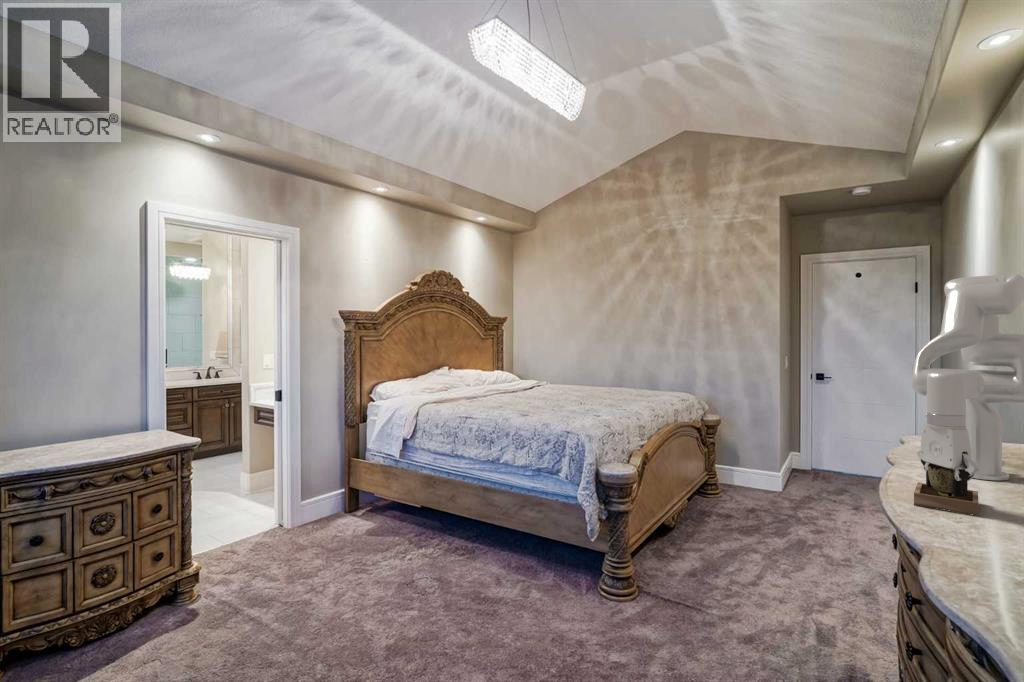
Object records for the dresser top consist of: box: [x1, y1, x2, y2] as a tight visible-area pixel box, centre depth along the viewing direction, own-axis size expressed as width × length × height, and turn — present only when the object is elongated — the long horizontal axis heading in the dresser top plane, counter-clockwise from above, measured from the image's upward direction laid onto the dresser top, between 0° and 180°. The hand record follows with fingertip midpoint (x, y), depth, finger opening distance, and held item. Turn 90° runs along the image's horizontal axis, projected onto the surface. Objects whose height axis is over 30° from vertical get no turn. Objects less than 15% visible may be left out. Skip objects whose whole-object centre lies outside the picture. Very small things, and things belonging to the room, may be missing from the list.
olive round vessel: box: [927, 463, 963, 499], centre depth 129 cm, size 8×7×8 cm
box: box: [913, 482, 979, 516], centre depth 129 cm, size 12×12×3 cm
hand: (946, 490), depth 129 cm, fingers closed on olive round vessel, 7 cm apart
